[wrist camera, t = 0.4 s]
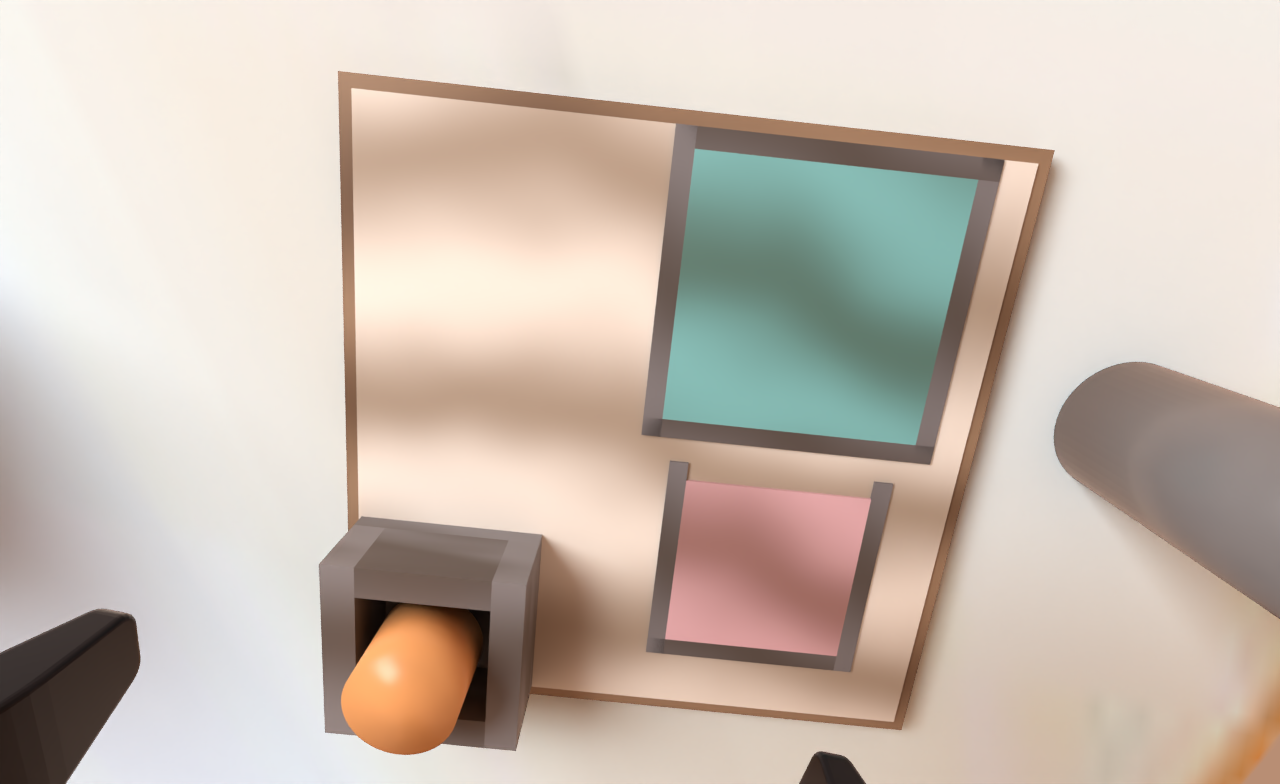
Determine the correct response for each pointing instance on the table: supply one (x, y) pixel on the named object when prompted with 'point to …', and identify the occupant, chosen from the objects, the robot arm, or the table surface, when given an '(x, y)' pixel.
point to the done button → (413, 678)
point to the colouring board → (661, 394)
